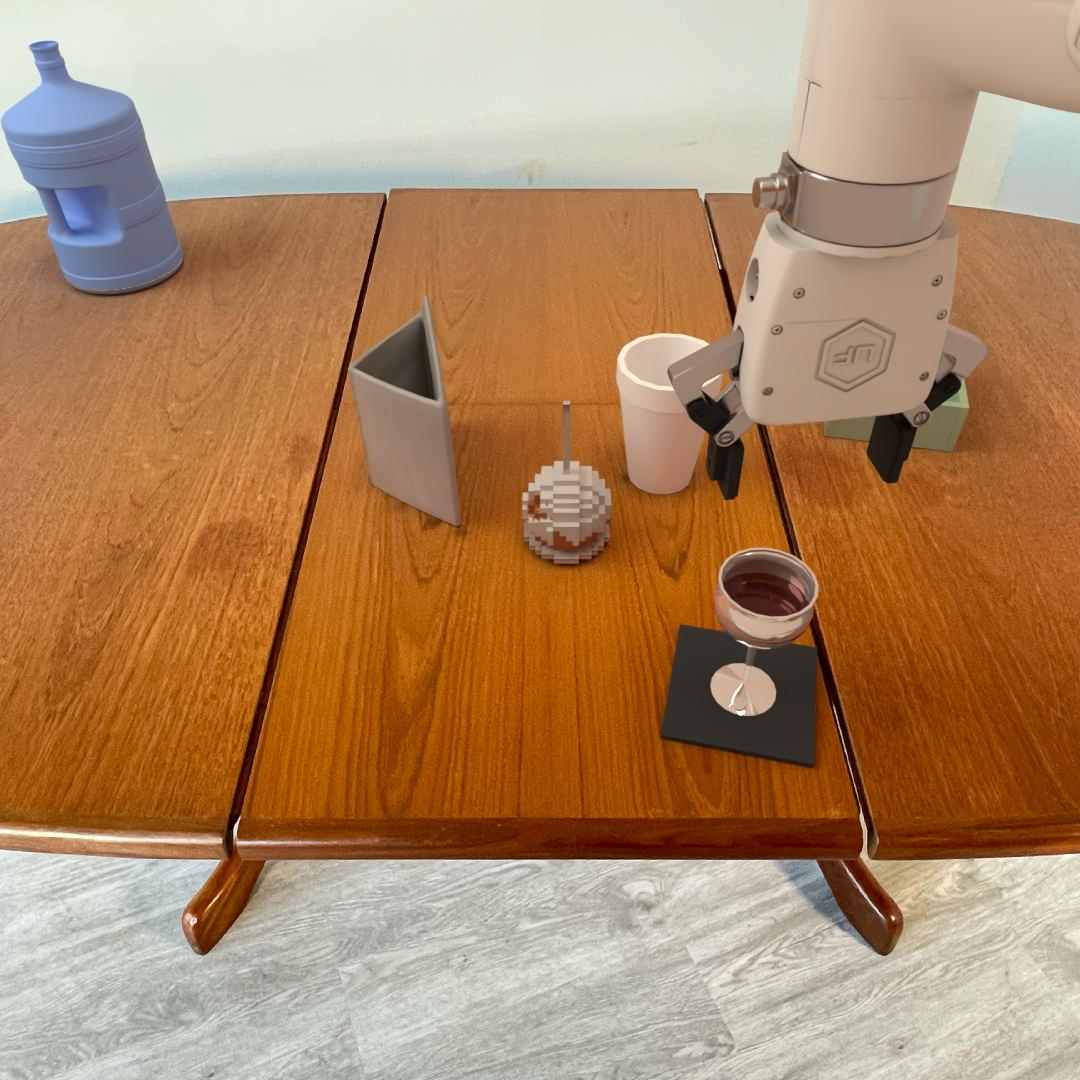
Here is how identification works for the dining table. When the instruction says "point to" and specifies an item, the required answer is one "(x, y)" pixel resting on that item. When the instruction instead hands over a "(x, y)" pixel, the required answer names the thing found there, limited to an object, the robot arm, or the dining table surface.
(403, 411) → the planter
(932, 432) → the bin
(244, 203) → the dining table surface
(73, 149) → the water jug
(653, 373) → the foam cup
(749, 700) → the wineglass
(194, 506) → the dining table surface
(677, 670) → the mat
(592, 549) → the decorative ornament
